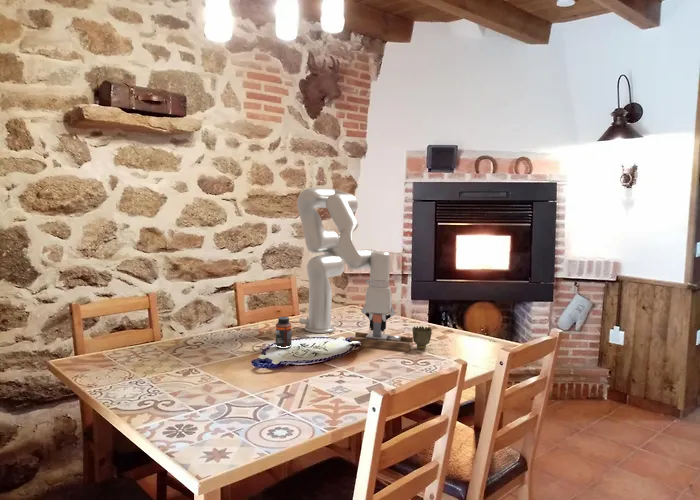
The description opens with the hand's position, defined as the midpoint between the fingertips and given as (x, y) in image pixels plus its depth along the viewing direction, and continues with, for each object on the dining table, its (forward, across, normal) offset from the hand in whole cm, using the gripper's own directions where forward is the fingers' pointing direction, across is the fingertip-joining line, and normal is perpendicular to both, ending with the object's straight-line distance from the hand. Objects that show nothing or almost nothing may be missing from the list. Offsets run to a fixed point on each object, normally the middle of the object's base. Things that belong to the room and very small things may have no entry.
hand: (377, 329), depth 218 cm
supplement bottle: (+6, -33, -16) cm, 37 cm away
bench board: (+6, +2, 0) cm, 6 cm away
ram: (+4, +2, 0) cm, 5 cm away
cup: (+6, +17, 0) cm, 18 cm away
